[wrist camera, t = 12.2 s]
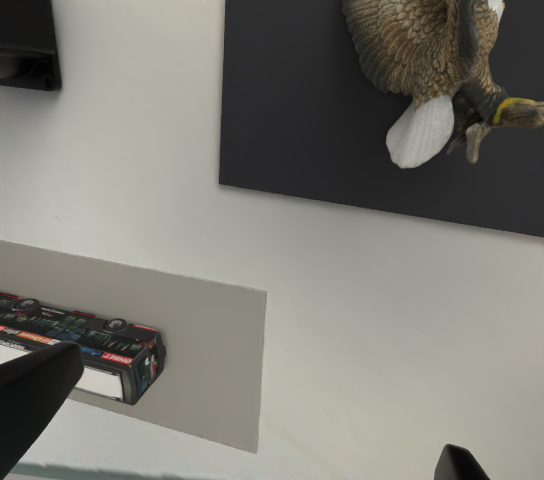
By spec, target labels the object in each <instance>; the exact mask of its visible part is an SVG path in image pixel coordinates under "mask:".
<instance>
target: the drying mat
mask: <svg viewBox="0 0 544 480" xmlns="http://www.w3.org/2000/svg"><path fill="white" fill-rule="evenodd" d="M447 1H448V0H447ZM503 2H504V3H505V9H504V10H503V12H502V15H501V18H500V21H499V26H498V35H497V39H496V41H495V44H494V46H493V48H492V50H491V51H490V52H489V54H488V65H489V71H490V74H491V76H492V80H493V82H494V83H495V84H496V85H499V86H501V87H503V88H504V89H505V90H506V92H507V94H508V95H509V96H510V97H511V98H523V99H530V100H533V101H536V102H544V0H503ZM342 7H343V3H342V1H341V0H226V3H225V31H224V59H223V87H222V115H221V143H220V172H219V184H223V185H229V186H235V187H241V188H247V189H253V190H259V191H266V192H272V193H278V194H284V195H290V196H296V197H302V198H308V199H314V200H320V201H326V202H332V203H338V204H344V205H351V206H357V207H363V208H369V209H375V210H381V211H387V212H393V213H399V214H405V215H411V216H417V217H423V218H429V219H436V220H442V221H448V222H454V223H460V224H466V225H472V226H478V227H484V228H490V229H496V230H502V231H508V232H514V233H521V234H527V235H533V236H539V237H544V124H543V125H542V126H541V127H539V128H537V129H529V128H523V127H516V126H509V127H500V128H491V130H490V132H489V133H488V134H487V135H486V136H485V137H484V138H483V139H482V141H481V143H480V146H479V152H478V160H477V162H476V163H475V164H472V163H469V162H468V160H467V152H466V150H467V143H465V144H463V145H461V146H460V148H459V149H458V150H457V151H456V152H455V153H453V154H447V149H448V147H449V145H450V144H451V142H452V141H453V140H455V138H456V137H457V136H458V135H459V133H460V131H457V130H456V129H455V128H456V126H457V125H458V124H457V119H458V117H457V116H456V115H455V113H453V114H454V127H453V132H452V134H451V136H450V138H449V140H448V141H447V142H446V143H445V145H444V146H443V148H442V149H441V150H440V151H439V153H437V154H435V155H434V156H433V157H432V158H431V159H429V160H428V161H426V162H424V163H423V164H421V165H420V166H418V167H415V168H404V169H403V168H400V167H399V166H398V165H397V164H395V163H393V162H392V160H391V155H390V152H389V150H388V147H387V145H386V137H387V134H388V131H389V130H390V129H391V127H392V126H393V125H394V124H395V123H396V121H397V120H398V119H399V118H400V117H401V116H402V115H403V113H404V112H405V111H406V109H407V108H408V107H409V105H410V104H411V102H412V101H413V95H409V96H405V95H404V94H403V93H402V91H400V92H399V93H393V92H392V91H391V90H389V91H387V92H386V93H384V92H382V91H381V90H380V89H379V90H377V89H375V87H374V84H373V83H372V82H371V81H369V80H368V79H367V77H366V75H365V74H364V73H363V72H362V67H361V65H360V63H359V58H360V55H359V54H358V53H357V52H356V50H355V44H354V42H353V40H352V37H353V34H351V33H350V32H349V31H348V26H347V23H346V16H345V15H343V12H342Z"/></svg>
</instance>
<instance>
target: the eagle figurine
mask: <svg viewBox="0 0 544 480" xmlns="http://www.w3.org/2000/svg"><path fill="white" fill-rule="evenodd" d="M341 1H342V3H343V7H342V12H343V15H345V16H346V23H347V26H348V31H349V32H350V33H351V34H353V37H352V40H353V42H354V44H355V50H356V52H357V53H358V54H359V55H360V58H359V63H360V65H361V67H362V72H363V73H364V74H365V75H366V77H367V79H368V80H369V81H371V82H372V83H373V84H374V87H375V89H377V90H379V89H380V90H381V91H382V92H384V93H386V92H387V91H389V90H391V91H392V92H393V93H399V92H400V91H402V93H403V94H404V95H405V96H409V95H413V101H412V102H411V104H410V105H409V107H408V108H407V109H406V111H405V112H404V113H403V115H402V116H401V117H400V118H399V119H398V120H397V121H396V123H395V124H394V125H393V126H392V127H391V129H390V130H389V131H388V134H387V137H386V145H387V147H388V150H389V152H390V155H391V160H392V162H393V163H395V164H397V165H398V166H399V167H400V168H403V169H404V168H415V167H418V166H420V165H421V164H423V163H424V162H426V161H428V160H429V159H431V158H432V157H433V156H434V155H435V154H437V153H439V151H440V150H441V149H442V148H443V146H444V145H445V143H446V142H447V141H448V140H449V138H450V136H451V134H452V132H453V127H454V114H453V113H455V115H456V116H457V117H458V119H457V124H458V125H457V126H456V128H455V129H456V130H457V131H460V133H459V135H458V136H457V137H456V138H455V140H453V141H452V142H451V144H450V145H449V147H448V149H447V154H453V153H455V152H456V151H457V150H458V149H459V148H460V146H461V145H463V144H465V143H467V150H466V152H467V160H468V162H469V163H472V164H475V163H476V162H477V160H478V152H479V146H480V143H481V141H482V139H483V138H484V137H485V136H486V135H487V134H488V133H489V132H490V130H491V128H500V127H509V126H516V127H523V128H529V129H537V128H539V127H541V126H542V125H543V124H544V102H536V101H533V100H530V99H523V98H511V97H510V96H509V95H508V94H507V92H506V90H505V89H504V88H503V87H501V86H499V85H496V84H495V83H494V82H493V80H492V76H491V74H490V71H489V65H488V54H489V52H490V51H491V50H492V48H493V46H494V44H495V41H496V39H497V35H498V26H499V21H500V18H501V15H502V12H503V10H504V9H505V3H504V2H503V0H448V1H447V0H341Z"/></svg>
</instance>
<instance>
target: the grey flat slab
mask: <svg viewBox="0 0 544 480" xmlns="http://www.w3.org/2000/svg"><path fill="white" fill-rule="evenodd" d="M266 294H267V291H263V290H258V289H252V288H247V287H242V286H237V285H231V284H226V283H221V282H215V281H210V280H205V279H200V278H194V277H189V276H184V275H178V274H173V273H168V272H162V271H157V270H152V269H147V268H141V267H136V266H131V265H125V264H120V263H115V262H110V261H104V260H99V259H94V258H88V257H83V256H78V255H73V254H67V253H62V252H57V251H51V250H46V249H41V248H36V247H30V246H25V245H20V244H14V243H9V242H4V241H0V364H2V363H4V362H7V361H10V360H12V359H15V358H18V357H20V356H23V355H26V354H28V353H31V352H34V351H36V350H39V349H42V348H45V347H47V346H50V345H53V344H55V343H58V342H61V341H71V342H74V343H78V344H79V345H80V346H81V350H82V355H83V361H84V373H83V375H82V377H81V379H80V380H79V382H78V383H77V384H76V386H75V387H74V389H73V390H72V391H71V393H70V394H69V396H68V397H67V398H69V399H72V400H75V401H79V402H82V403H85V404H89V405H92V406H96V407H99V408H102V409H106V410H109V411H112V412H116V413H119V414H123V415H126V416H129V417H133V418H136V419H139V420H143V421H146V422H150V423H153V424H156V425H160V426H163V427H166V428H170V429H173V430H176V431H180V432H183V433H187V434H190V435H193V436H197V437H200V438H203V439H207V440H210V441H214V442H217V443H220V444H224V445H227V446H230V447H234V448H237V449H241V450H244V451H247V452H251V453H254V454H257V446H258V429H259V412H260V395H261V378H262V361H263V344H264V327H265V310H266Z"/></svg>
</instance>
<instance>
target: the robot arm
mask: <svg viewBox="0 0 544 480" xmlns="http://www.w3.org/2000/svg"><path fill="white" fill-rule="evenodd" d="M50 79H51V81H52V85H51V83H50ZM0 85H1V86H9V87H18V88H26V89H35V90H43V91H59V90H60V88H61V77H60V69H59V61H58V54H57V46H56V39H55V31H54V23H53V16H52V8H51V0H0ZM83 373H84V361H83V355H82V350H81V346H80V345H79V344H78V343H74V342H71V341H61V342H58V343H55V344H53V345H50V346H47V347H45V348H42V349H39V350H36V351H34V352H31V353H28V354H26V355H23V356H20V357H18V358H15V359H12V360H10V361H7V362H4V363H2V364H0V480H3V479H4V478H5V476H6V475H7V474H8V473H9V472H10V471H11V469H12V468H13V467H14V466H15V465H16V463H17V462H18V461H19V460H20V459H21V457H22V456H23V455H24V454H25V453H26V451H27V450H28V449H29V448H30V447H31V445H32V444H33V443H34V442H35V441H36V439H37V438H38V437H39V436H40V434H41V433H42V432H43V431H44V429H45V428H46V427H47V425H48V424H49V423H50V421H51V420H52V418H53V417H54V416H55V414H56V413H57V411H58V410H59V408H60V407H61V406H62V404H63V403H64V401H65V400H66V399H67V397H68V396H69V394H70V393H71V391H72V390H73V389H74V387H75V386H76V384H77V383H78V382H79V380H80V379H81V377H82V375H83ZM434 480H490V479H489V477H488V476H487V474H486V473H485V472H484V470H483V469H482V468H481V466H480V465H479V463H478V462H477V461H476V459H475V458H474V457H473V455H472V454H471V453H470V452H469V451H468V450H467V449H465V448H462V447H459V446H455V445H451V444H447V445H445V446H444V448H443V451H442V453H441V456H440V458H439V461H438V464H437V466H436V469H435V475H434Z"/></svg>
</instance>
